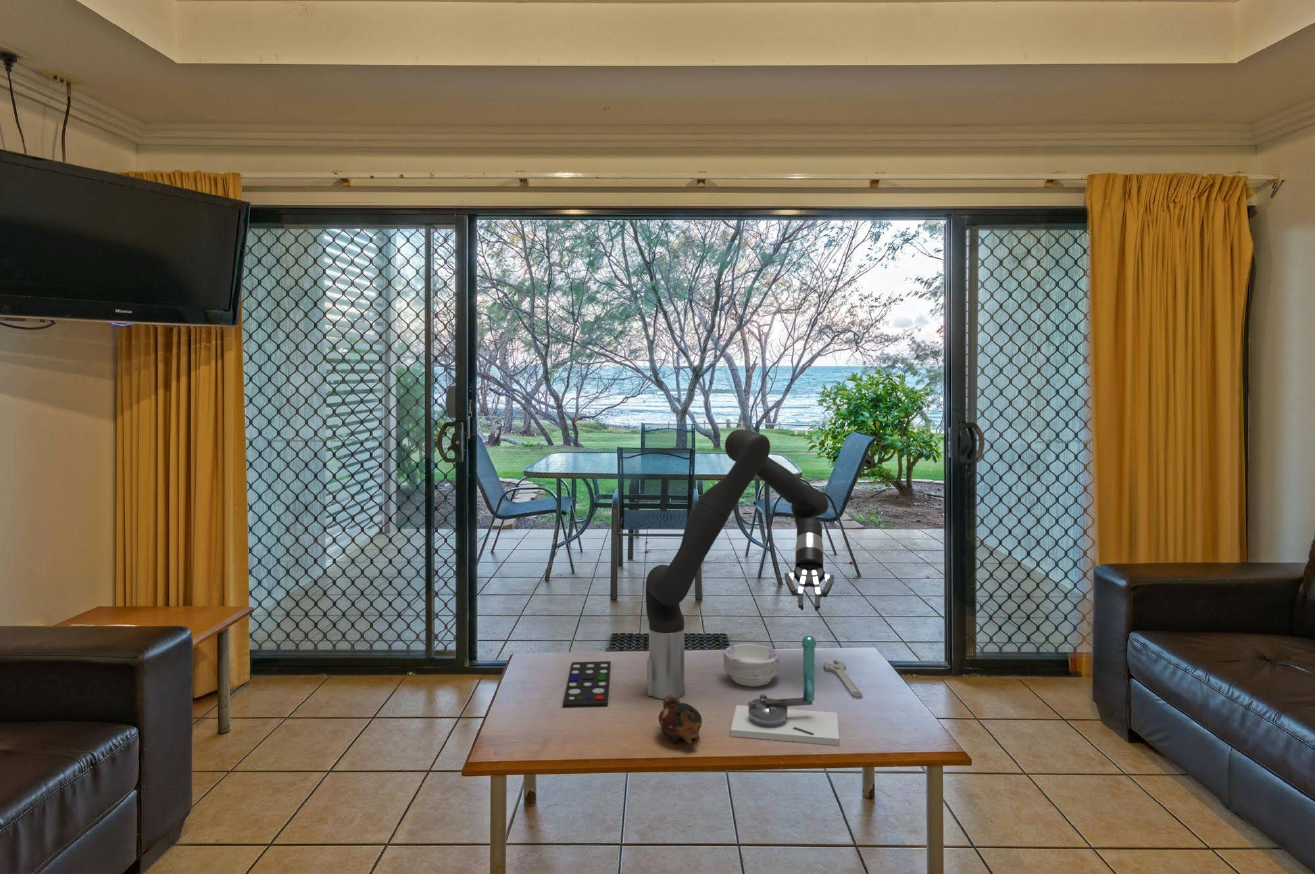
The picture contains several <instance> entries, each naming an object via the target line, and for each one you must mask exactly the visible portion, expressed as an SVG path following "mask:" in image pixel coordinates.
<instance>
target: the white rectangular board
mask: <svg viewBox="0 0 1315 874" xmlns="http://www.w3.org/2000/svg"><path fill="white" fill-rule="evenodd" d="M730 737H734V738H735V737H737V738H745V737H746V738H747V739H757V740H758V739H761V740H768V739H769V740H770V741H781V742H792V741H794V743H802V744H803V743H804V744H805V743H806V744H818V745H826V746H827V745H829V746H830V745H831V746H840V733H839V721H838V712H829V711H819V710H818V711H817V710H805V709H794V708H791V709H790V708H787V722H786V723H785V724H783V725H781V726H776V727H765V726H759V725H756V724H754V723H752V722H751V721H750V720H749V718H748V705H738V704H736V706H735V711H734V714H733V717H732V723H731V727H730Z"/></svg>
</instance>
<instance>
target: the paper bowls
mask: <svg viewBox="0 0 1315 874" xmlns="http://www.w3.org/2000/svg"><path fill="white" fill-rule="evenodd" d="M780 656H781V655H780V653H779V651H777V650H776V649H775V648H772V647H770V646H766V645H762V644H761V645H760V644H755V643H741V644H734V645H731V646H727V648H725V649H724V651H723V670H724V672H725V673H726V674H727V675H729V676H731V679H732V681H734V682H735V683H736V684H738V685H740V686H744V687H753V688H754V687H762V686H766V685H768V684H769V683H770V682H771V680H772V678H775V677H776V676H778V674H780V660H781V657H780Z"/></svg>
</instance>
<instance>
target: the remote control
mask: <svg viewBox="0 0 1315 874" xmlns="http://www.w3.org/2000/svg"><path fill="white" fill-rule="evenodd" d="M611 666H612V665H611V661H610V660H607V661H572V663H571V666H570V671H569V676H568V679H567V684H566V689H565V692H564V698H563V702H562V708H563V709H565V708H567V709H570V708H573V709H574V708H607V707H609V706H608V705H609V696H610V695H609V694H610V693H609V692H610V678H611Z"/></svg>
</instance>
